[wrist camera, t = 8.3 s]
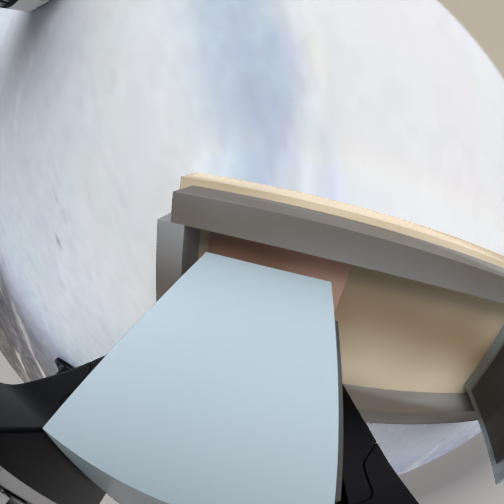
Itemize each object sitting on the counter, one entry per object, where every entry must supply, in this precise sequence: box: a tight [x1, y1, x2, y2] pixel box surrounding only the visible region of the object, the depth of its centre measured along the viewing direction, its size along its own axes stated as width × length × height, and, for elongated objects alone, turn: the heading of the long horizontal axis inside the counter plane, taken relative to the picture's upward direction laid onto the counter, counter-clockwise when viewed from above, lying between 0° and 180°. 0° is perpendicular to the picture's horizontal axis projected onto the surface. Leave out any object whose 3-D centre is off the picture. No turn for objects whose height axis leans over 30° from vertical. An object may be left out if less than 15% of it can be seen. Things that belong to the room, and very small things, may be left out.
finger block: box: [43, 252, 343, 504], centre depth 6 cm, size 5×4×7 cm
